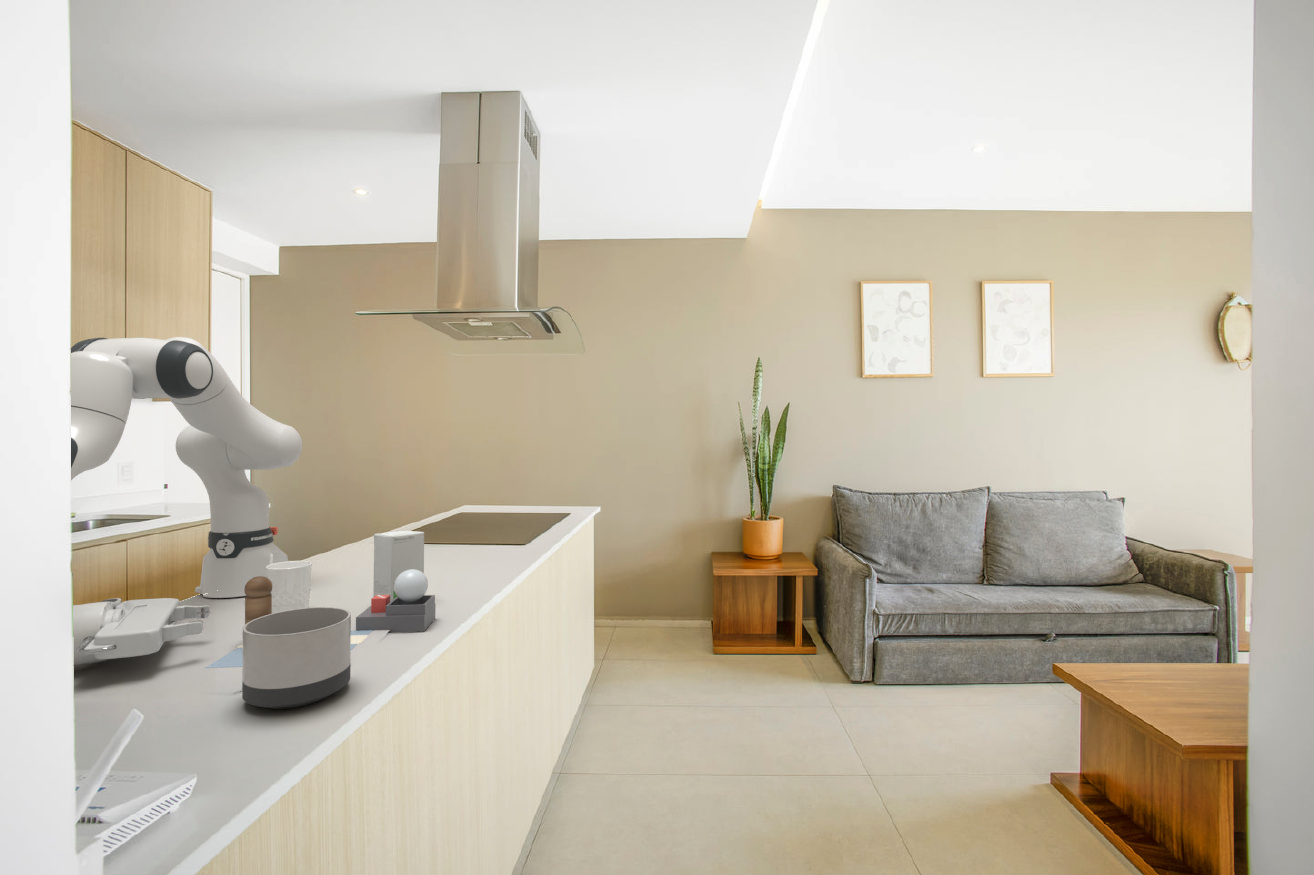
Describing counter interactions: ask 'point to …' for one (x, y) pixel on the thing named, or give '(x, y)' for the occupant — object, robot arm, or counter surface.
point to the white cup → (289, 584)
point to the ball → (411, 585)
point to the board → (236, 656)
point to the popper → (397, 614)
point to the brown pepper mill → (258, 598)
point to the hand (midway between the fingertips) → (206, 618)
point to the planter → (296, 657)
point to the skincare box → (396, 558)
